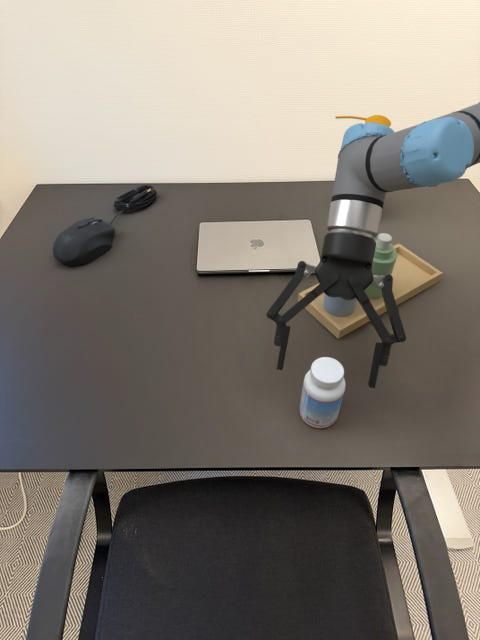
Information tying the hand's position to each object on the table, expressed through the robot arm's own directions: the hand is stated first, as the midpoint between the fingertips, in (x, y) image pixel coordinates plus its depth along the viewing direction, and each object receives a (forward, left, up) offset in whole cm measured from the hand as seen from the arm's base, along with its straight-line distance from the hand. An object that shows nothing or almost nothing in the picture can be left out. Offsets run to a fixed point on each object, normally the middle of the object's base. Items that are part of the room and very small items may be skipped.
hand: (324, 377), depth 70 cm
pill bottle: (0, +1, -8) cm, 8 cm away
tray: (+1, -30, -7) cm, 31 cm away
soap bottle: (+14, -57, -8) cm, 59 cm away
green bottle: (+1, -30, -7) cm, 30 cm away
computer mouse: (+60, -23, -8) cm, 64 cm away
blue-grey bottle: (+5, -22, -7) cm, 24 cm away
